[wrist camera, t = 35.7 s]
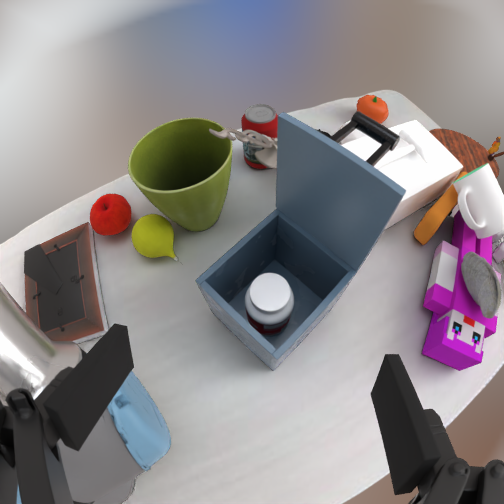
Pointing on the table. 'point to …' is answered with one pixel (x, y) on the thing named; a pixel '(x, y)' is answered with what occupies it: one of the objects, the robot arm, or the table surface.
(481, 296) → the grey rock
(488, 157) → the incense holder
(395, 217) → the tissue box
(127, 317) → the table surface
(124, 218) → the apple
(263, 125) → the beverage can
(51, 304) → the picture frame
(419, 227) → the multimeter
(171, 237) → the yellow-green teardrop shape
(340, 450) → the table surface
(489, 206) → the mug
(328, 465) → the table surface
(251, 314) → the pill bottle
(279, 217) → the blue-grey hollow box
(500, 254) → the grey segmented bar
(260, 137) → the wall hook
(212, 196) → the flower pot
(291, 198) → the lid
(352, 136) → the geometric ball
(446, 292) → the toy
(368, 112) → the pumpkin
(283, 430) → the table surface
